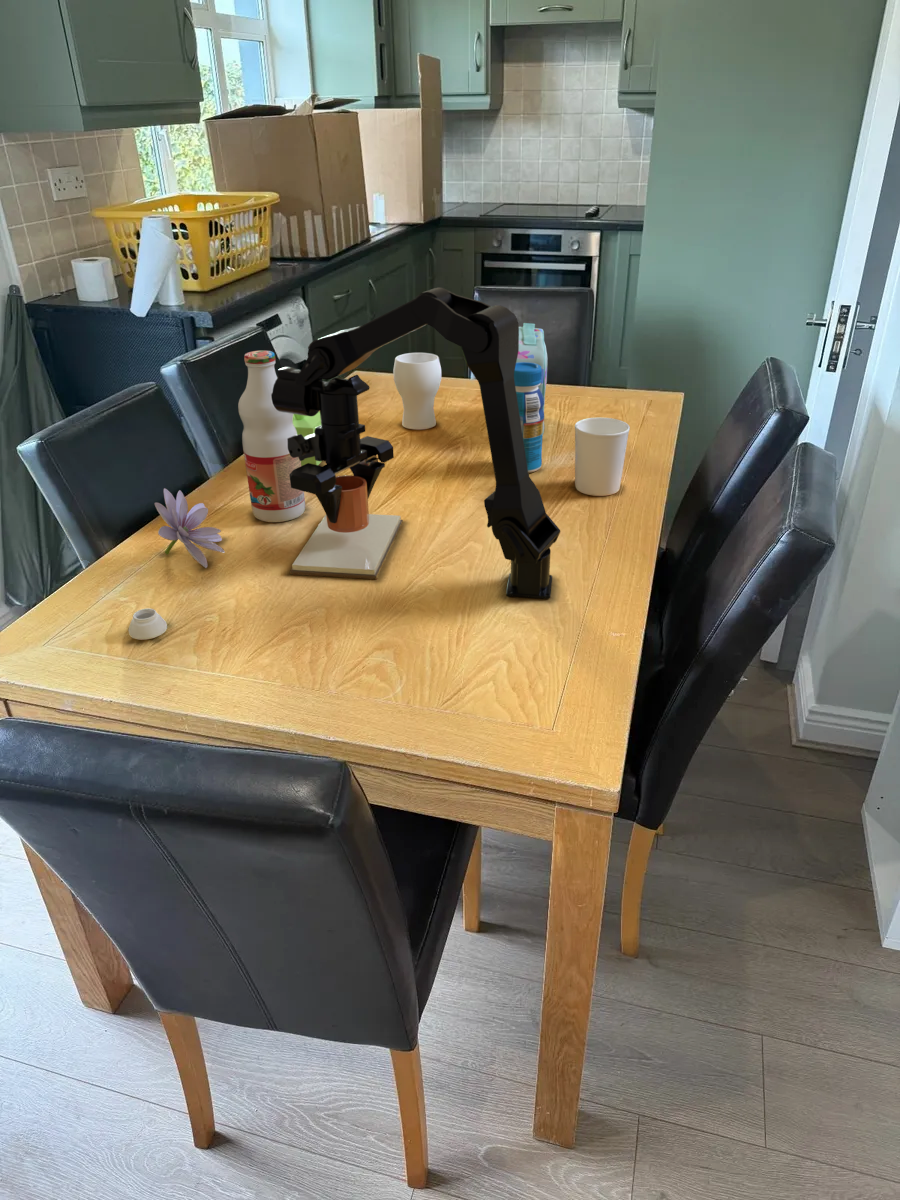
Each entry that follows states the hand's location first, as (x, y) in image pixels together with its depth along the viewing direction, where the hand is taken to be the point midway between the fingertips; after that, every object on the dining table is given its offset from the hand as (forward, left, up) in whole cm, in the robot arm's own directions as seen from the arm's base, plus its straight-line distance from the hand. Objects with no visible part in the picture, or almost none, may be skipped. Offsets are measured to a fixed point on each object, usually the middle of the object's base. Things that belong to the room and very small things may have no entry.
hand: (347, 514), depth 135 cm
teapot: (+37, +19, -6) cm, 42 cm away
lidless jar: (-29, +21, -6) cm, 36 cm away
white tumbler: (+30, -40, -6) cm, 50 cm away
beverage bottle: (+39, -25, -6) cm, 47 cm away
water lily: (-6, +24, -6) cm, 26 cm away
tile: (0, 0, -6) cm, 6 cm away
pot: (0, 0, -2) cm, 2 cm away
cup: (+63, 0, -6) cm, 63 cm away
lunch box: (+64, -23, -6) cm, 68 cm away
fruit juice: (+12, +16, -6) cm, 21 cm away
